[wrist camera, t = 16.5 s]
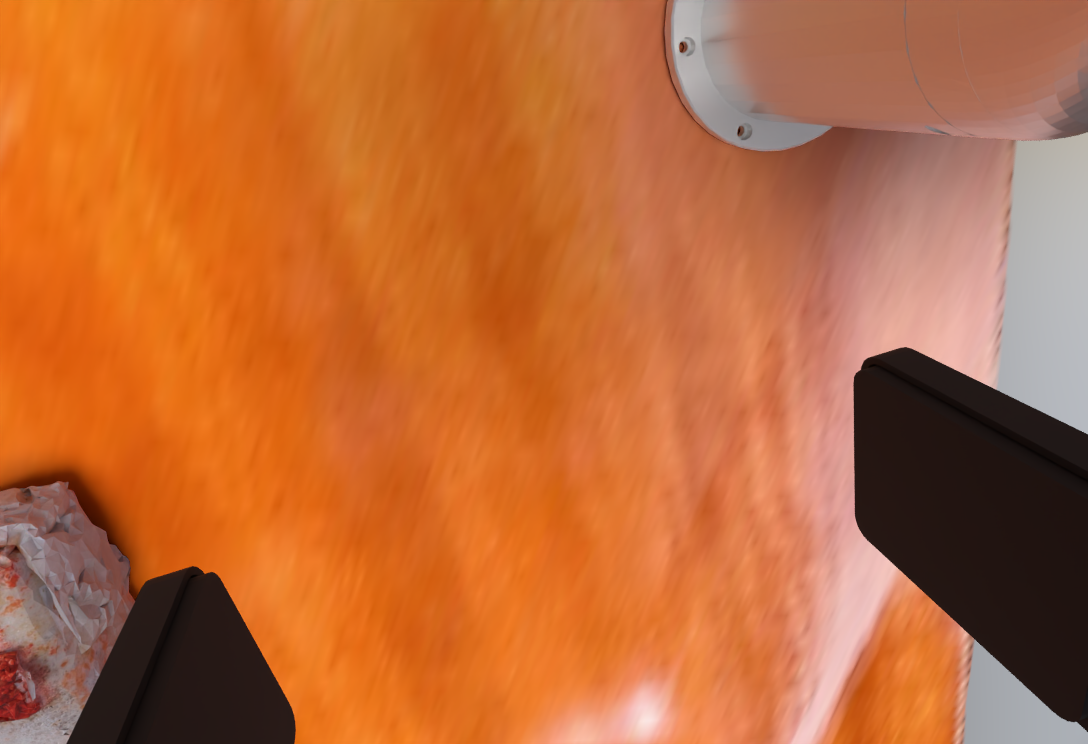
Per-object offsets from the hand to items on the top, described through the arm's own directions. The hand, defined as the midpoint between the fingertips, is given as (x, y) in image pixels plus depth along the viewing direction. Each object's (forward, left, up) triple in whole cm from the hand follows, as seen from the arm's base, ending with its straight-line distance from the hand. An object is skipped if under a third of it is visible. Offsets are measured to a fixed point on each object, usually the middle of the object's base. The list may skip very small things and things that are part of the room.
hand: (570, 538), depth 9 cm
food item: (+26, +14, -29) cm, 41 cm away
